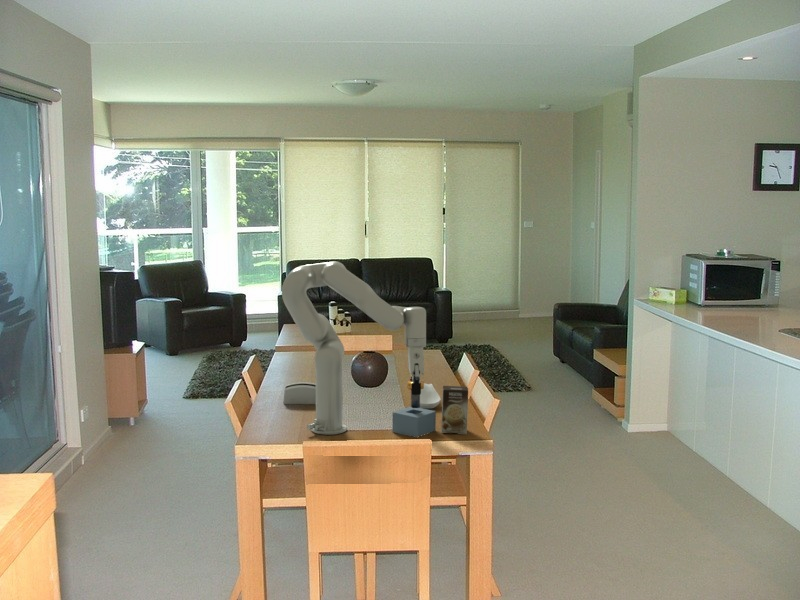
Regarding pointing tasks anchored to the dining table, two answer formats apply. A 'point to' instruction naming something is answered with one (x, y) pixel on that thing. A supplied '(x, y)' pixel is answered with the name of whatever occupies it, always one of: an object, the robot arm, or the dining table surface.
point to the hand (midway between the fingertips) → (415, 391)
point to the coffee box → (454, 409)
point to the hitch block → (414, 421)
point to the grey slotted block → (300, 393)
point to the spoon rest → (429, 397)
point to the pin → (415, 398)
